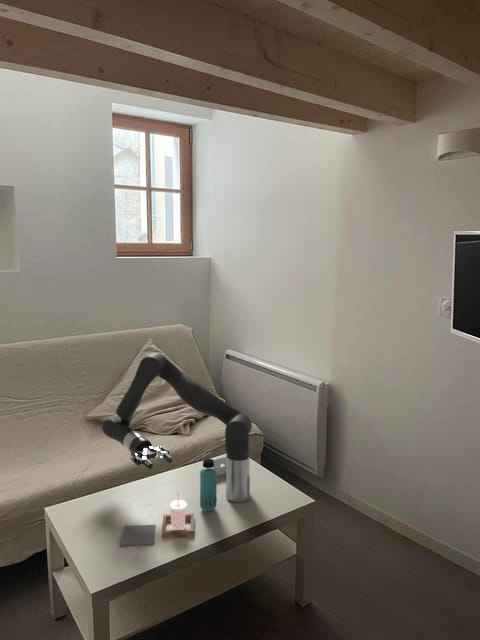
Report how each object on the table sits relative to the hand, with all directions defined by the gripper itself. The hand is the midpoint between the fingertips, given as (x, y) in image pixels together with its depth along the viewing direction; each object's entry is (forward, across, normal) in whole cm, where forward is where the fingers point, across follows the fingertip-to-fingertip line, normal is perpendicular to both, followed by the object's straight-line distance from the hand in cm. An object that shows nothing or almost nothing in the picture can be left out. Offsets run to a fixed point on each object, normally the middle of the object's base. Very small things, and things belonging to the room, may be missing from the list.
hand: (161, 463), depth 179 cm
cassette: (-6, +40, +19) cm, 44 cm away
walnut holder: (+14, 0, +18) cm, 23 cm away
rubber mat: (+8, -13, +20) cm, 25 cm away
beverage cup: (+14, 0, +19) cm, 23 cm away
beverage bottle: (+12, +16, +18) cm, 27 cm away
